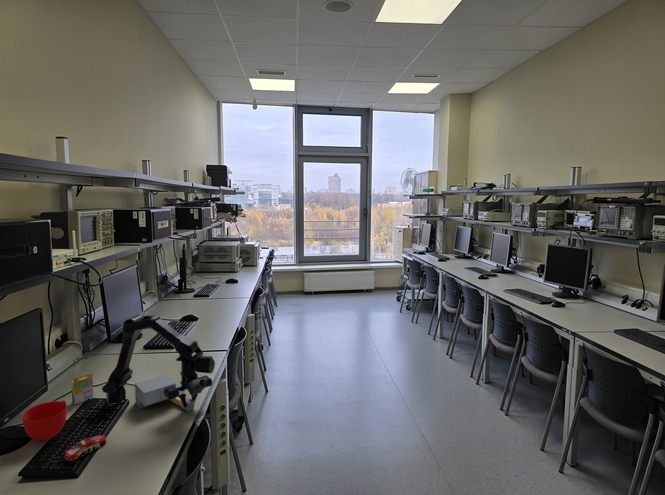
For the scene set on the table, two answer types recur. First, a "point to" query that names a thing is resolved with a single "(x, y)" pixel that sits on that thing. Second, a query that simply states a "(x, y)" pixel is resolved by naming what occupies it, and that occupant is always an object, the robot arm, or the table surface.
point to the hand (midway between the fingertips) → (188, 405)
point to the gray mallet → (188, 403)
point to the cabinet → (152, 390)
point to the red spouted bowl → (45, 420)
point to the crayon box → (82, 389)
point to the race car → (85, 447)
